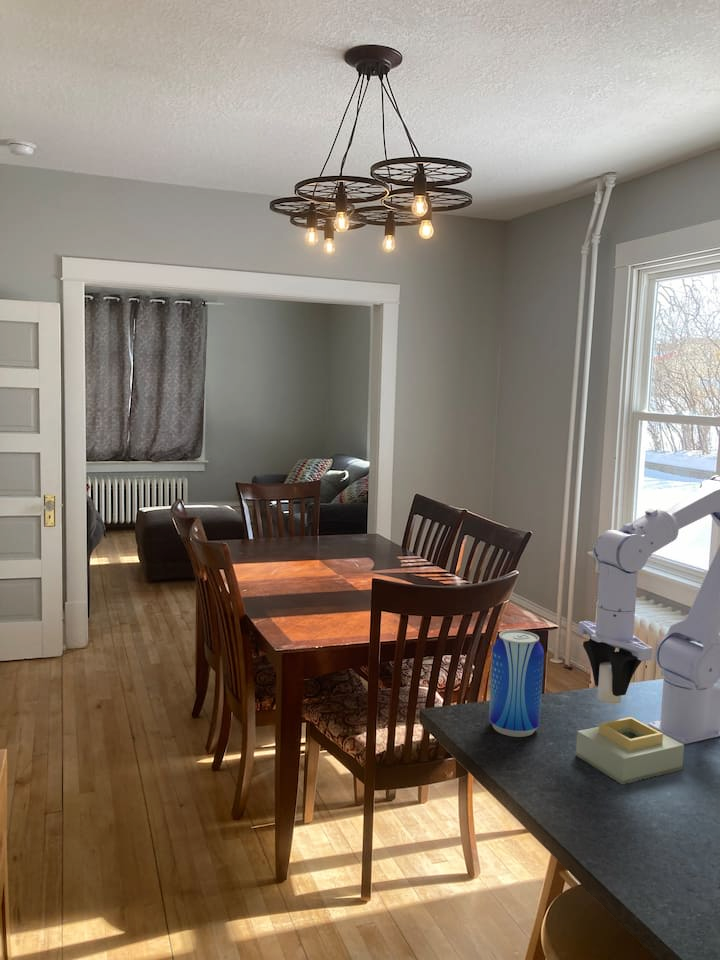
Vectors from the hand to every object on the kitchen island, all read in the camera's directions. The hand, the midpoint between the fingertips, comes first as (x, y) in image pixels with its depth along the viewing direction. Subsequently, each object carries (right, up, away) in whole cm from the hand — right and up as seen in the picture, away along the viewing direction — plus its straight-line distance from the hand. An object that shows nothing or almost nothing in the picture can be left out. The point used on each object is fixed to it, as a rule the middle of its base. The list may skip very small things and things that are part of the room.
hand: (610, 689), depth 128 cm
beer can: (-14, -8, +7) cm, 18 cm away
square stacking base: (+1, -10, -4) cm, 11 cm away
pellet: (0, -2, 0) cm, 2 cm away
